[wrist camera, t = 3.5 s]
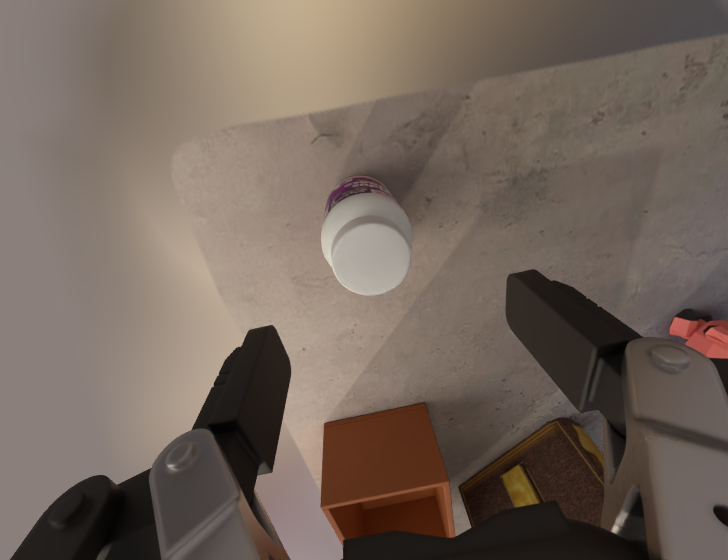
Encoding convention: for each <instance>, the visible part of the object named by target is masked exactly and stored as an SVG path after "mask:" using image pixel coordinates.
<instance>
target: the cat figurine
mask: <svg viewBox="0 0 728 560" xmlns="http://www.w3.org/2000/svg"><path fill="white" fill-rule="evenodd" d="M670 335H677V336H681V337H682V338H683V339H689V340H688V341H687V342H686V343H685V344H686V345H687V346H689V347H691V348H694V349H695V350H697V351H699V352H701V353H702V354H704V355H705V356H706V357H707V358H727V359H728V321H727V320H717V321H714V320H713V318H712V317H711V316H708V317H704V318H701V319H699V320H698V319H697V317H696V315H695V314H694V312H693V310H692V309H690V310H684V311H682V312H681V313H679V314H678V315H677V316H675V317H674V320H673V322H672V324H671V326H670Z"/></svg>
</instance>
